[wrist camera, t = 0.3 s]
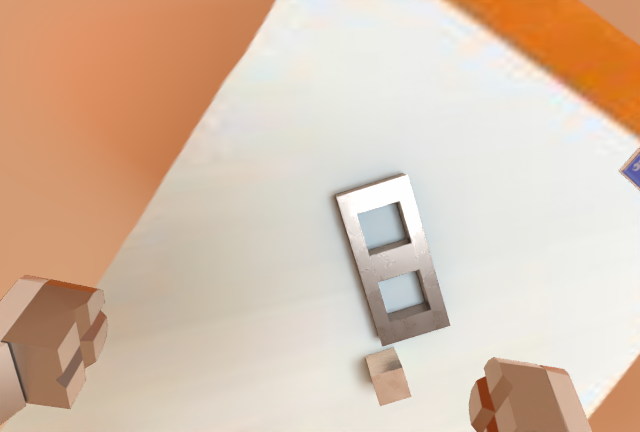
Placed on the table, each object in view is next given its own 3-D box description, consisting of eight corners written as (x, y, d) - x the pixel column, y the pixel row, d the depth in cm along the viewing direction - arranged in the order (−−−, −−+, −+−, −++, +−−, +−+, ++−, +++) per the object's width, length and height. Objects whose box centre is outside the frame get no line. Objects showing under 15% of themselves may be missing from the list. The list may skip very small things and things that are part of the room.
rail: (443, 317, 66) (450, 325, 63) (378, 337, 66) (382, 346, 63) (402, 173, 63) (407, 174, 60) (335, 194, 63) (336, 197, 60)
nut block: (402, 374, 67) (411, 396, 61) (373, 382, 67) (380, 406, 61) (393, 347, 67) (402, 367, 61) (365, 356, 67) (370, 377, 61)
